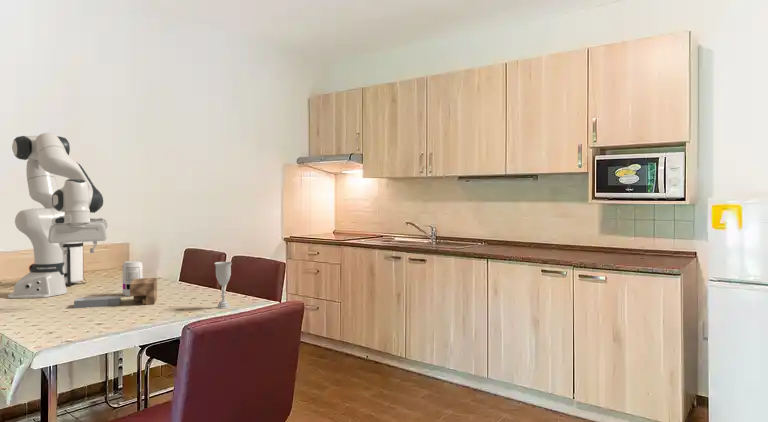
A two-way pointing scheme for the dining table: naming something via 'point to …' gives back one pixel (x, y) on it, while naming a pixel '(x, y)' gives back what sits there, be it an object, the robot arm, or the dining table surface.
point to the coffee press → (73, 262)
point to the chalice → (223, 280)
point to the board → (97, 301)
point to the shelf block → (144, 290)
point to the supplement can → (131, 274)
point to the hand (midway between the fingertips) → (78, 253)
